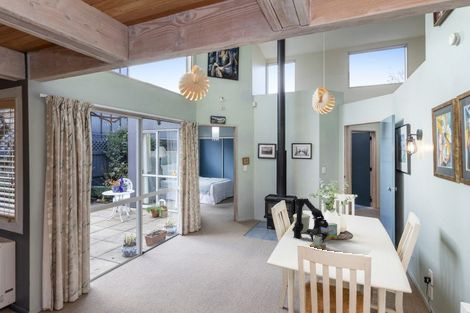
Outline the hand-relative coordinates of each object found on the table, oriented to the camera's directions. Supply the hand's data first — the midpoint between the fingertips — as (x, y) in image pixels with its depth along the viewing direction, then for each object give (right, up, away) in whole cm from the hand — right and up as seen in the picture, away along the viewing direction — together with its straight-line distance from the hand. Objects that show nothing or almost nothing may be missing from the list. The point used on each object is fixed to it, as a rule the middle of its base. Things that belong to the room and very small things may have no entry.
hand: (317, 242), depth 224 cm
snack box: (+15, -4, +20) cm, 26 cm away
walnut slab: (0, -5, 0) cm, 5 cm away
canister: (-2, -4, +45) cm, 45 cm away
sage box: (0, -2, 0) cm, 2 cm away
